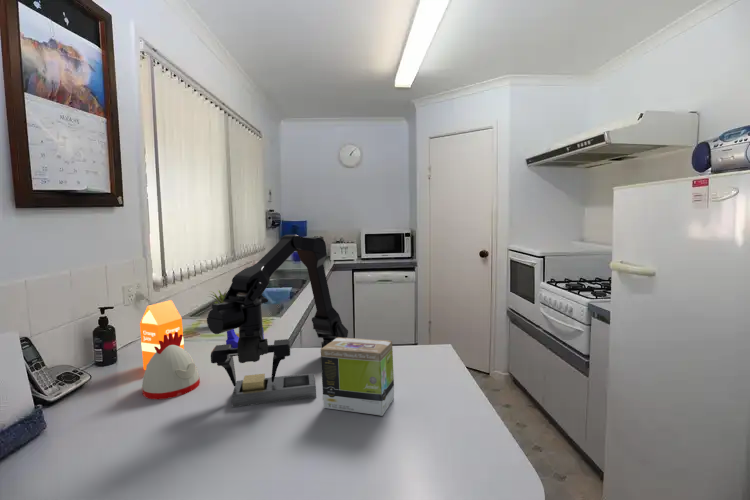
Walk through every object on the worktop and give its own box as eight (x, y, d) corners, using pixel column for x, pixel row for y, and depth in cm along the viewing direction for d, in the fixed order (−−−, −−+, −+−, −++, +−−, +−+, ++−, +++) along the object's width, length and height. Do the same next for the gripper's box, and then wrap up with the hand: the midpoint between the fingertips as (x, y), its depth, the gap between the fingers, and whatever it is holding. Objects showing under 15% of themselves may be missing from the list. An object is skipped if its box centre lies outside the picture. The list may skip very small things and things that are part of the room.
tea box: (395, 398, 100) (393, 339, 98) (382, 417, 90) (380, 353, 89) (339, 391, 105) (337, 335, 103) (321, 409, 95) (319, 347, 94)
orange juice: (143, 369, 123) (137, 305, 122) (167, 359, 132) (162, 299, 130) (161, 372, 120) (156, 306, 119) (185, 362, 129) (181, 300, 127)
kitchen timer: (210, 381, 113) (207, 329, 112) (167, 403, 101) (162, 344, 99) (176, 374, 119) (172, 324, 118) (130, 394, 107) (126, 338, 105)
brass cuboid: (265, 392, 105) (264, 373, 105) (264, 400, 101) (263, 381, 100) (245, 394, 104) (244, 375, 104) (243, 403, 100) (242, 383, 99)
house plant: (197, 330, 165) (194, 290, 164) (216, 321, 179) (213, 284, 177) (230, 330, 163) (227, 290, 161) (246, 321, 177) (244, 284, 175)
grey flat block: (314, 383, 110) (314, 372, 109) (316, 397, 101) (315, 385, 101) (237, 392, 106) (236, 380, 105) (232, 407, 97) (231, 395, 97)
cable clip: (226, 348, 141) (225, 332, 141) (230, 344, 146) (229, 328, 145) (261, 347, 142) (260, 330, 141) (264, 343, 146) (263, 327, 146)
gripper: (203, 336, 91) (208, 402, 92) (288, 329, 95) (291, 393, 96) (213, 323, 102) (217, 382, 103) (288, 317, 106) (291, 375, 107)
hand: (254, 383), depth 102 cm, fingers open, 9 cm apart
